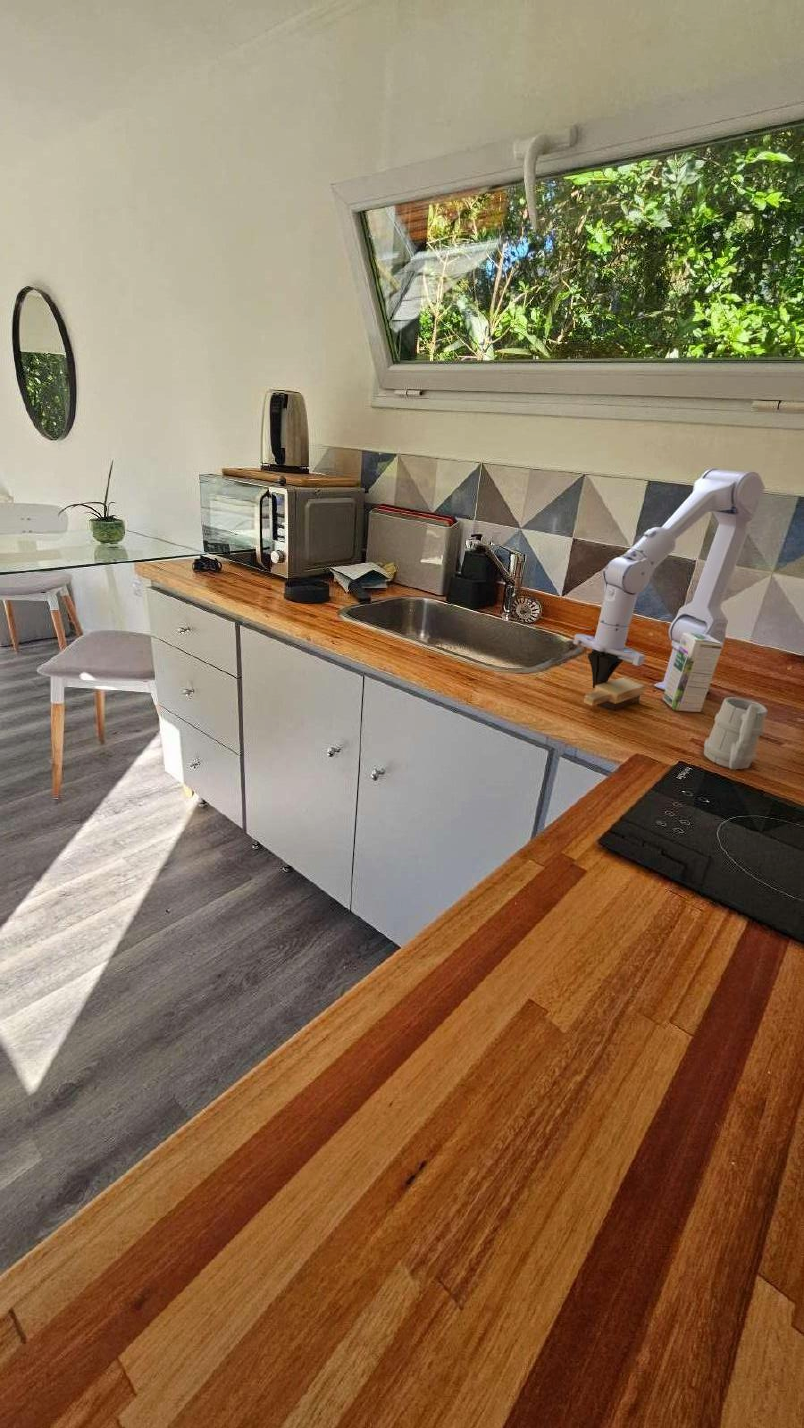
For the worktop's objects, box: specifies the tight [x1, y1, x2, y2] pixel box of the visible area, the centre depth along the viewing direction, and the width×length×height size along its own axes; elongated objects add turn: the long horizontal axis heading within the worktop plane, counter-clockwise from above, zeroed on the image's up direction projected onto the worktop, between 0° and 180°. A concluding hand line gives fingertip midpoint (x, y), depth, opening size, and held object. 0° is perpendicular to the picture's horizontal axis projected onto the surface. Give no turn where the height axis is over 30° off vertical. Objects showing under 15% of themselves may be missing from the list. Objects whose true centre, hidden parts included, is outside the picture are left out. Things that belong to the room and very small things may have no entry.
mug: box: [703, 696, 768, 770], centre depth 95 cm, size 8×12×12 cm, turn 158°
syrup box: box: [662, 633, 724, 713], centre depth 117 cm, size 6×6×14 cm
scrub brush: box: [582, 676, 646, 711], centre depth 116 cm, size 16×5×4 cm, turn 129°
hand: (598, 688), depth 119 cm, fingers closed
